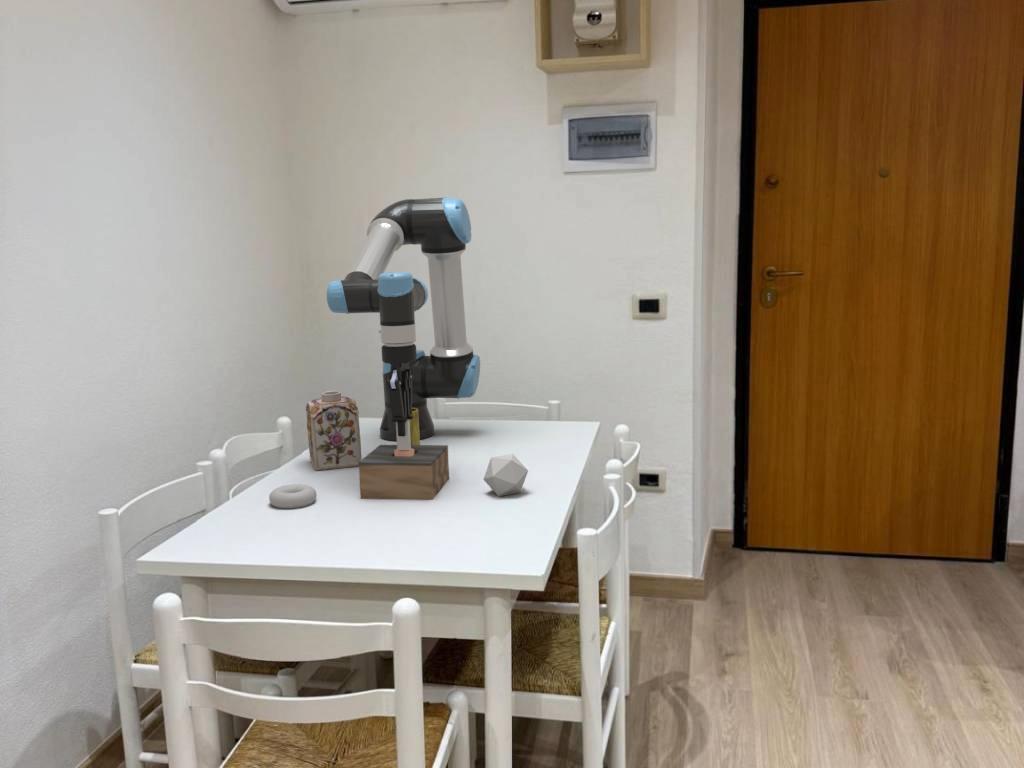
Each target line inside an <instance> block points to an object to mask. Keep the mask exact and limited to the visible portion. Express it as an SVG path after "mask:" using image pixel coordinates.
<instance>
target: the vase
mask: <svg viewBox="0 0 1024 768" xmlns="http://www.w3.org/2000/svg"><path fill="white" fill-rule="evenodd" d="M410 416H413V419H408V420H409V421H410V440H411V445H421V439H420V433H419V412H418V409H417V408H412V415H410Z"/></svg>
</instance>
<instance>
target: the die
mask: <svg viewBox="0 0 1024 768" xmlns="http://www.w3.org/2000/svg"><path fill="white" fill-rule="evenodd" d="M528 472H529V469H528V468H527V467H526V466H525V465H524V464H523V463H522V462H521V461H520V460H519V459H518V457H516V455H514V454H513V453H512V454H511V453H510V454H504V455H498V456H491V457H490V460H489V462H488V466H487V468H486V471H485V473H484V476H483V481H484V482H485V483H486V484H487V485H488V486H489V487H490V489H491V490H492V491H493V492H494V493H495V494H496V495H497V497H502V496H508V495H513V494H515V495H516V494H519V492H520V493H521V491H522V489H523V487H524V484H525V481H526V478H527V475H528Z"/></svg>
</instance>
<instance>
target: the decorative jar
mask: <svg viewBox="0 0 1024 768" xmlns="http://www.w3.org/2000/svg"><path fill="white" fill-rule="evenodd" d="M305 411H306V427H307V428H306V429H307V438H308V439H307V440H308V451H309V460H310V463H311V464H312V466H313V469H314V470H315V471H316V472H318V471H328V470H335V469H345V468H346V469H347V468H356V467H359V463H358V462H360V461H361V460H362V444H361V428H360V418H359V417H360V416H359V415H360V414H359V407H358V406H357V401H356V400H355V398H353V397H348V396H342V391H340V390H339V391H338V390H328V391H327V390H326V391H324V392H321V397H320V398H314V399H312V400H309V401H308V402H307V403H306V406H305Z"/></svg>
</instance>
